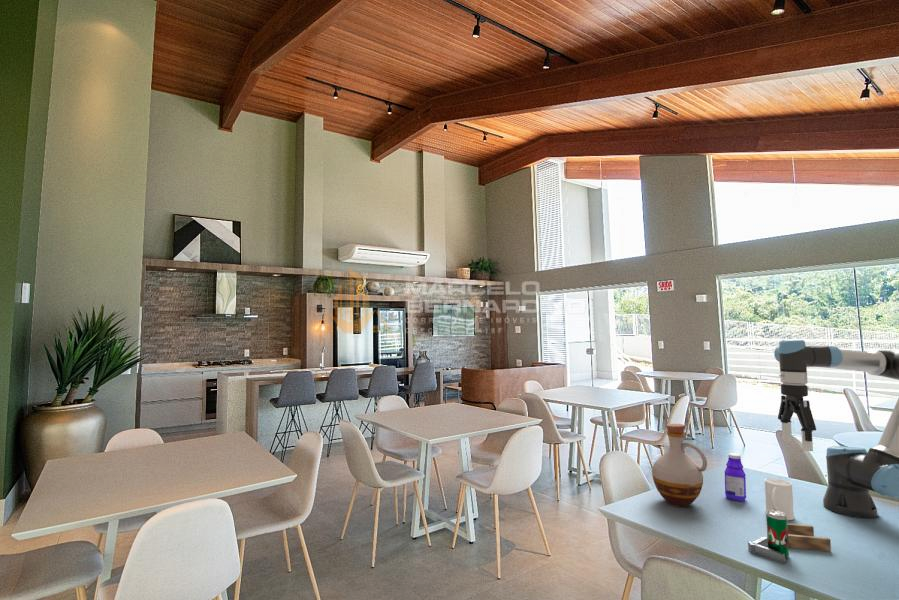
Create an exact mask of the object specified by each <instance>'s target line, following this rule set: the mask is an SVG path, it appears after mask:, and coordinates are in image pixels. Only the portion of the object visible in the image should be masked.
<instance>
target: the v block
mask: <svg viewBox="0 0 899 600" xmlns="http://www.w3.org/2000/svg"><path fill="white" fill-rule="evenodd" d="M747 547H748V549H747V550H748V551H749V552H750V554H753V555H754V554H756V555H759V556H761V557H763V558H767V559H769V560H772V561H774V562H777V563H779V564H782V563H783V564H782V565H784V564H786V558H785V554H784V553H781V552H778V551H775V550H773V549H770V548H768V541H767V536H762V537H760V538H758V539H756V540H753V541H747Z"/></svg>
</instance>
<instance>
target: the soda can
mask: <svg viewBox="0 0 899 600" xmlns="http://www.w3.org/2000/svg"><path fill="white" fill-rule="evenodd" d="M765 514H766V513H765ZM765 516H766V537H767V541H768V547H767V548H770V549H773V550H775V551H778V552H781V553H784V554H785V559H787V558H788V557H789V556H790V550H789V546H788V526H787V523H788V520H787V518H786V516H785V514H784V513H782V512H779V511H773V510H770V511H768V513H767V514H766V515H765Z"/></svg>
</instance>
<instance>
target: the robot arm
mask: <svg viewBox="0 0 899 600" xmlns="http://www.w3.org/2000/svg"><path fill="white" fill-rule="evenodd" d="M773 354H774V358H775V360H776V361H777V362H779V374H778V376H779V377H780V382H781V384H780V394H781V396H780V405H779V409H778V415H777V419H778V420H780V423H781V436H782V437H781V439H782V442H785V443H788V442H791V443H792V442H793V438H792V437H793V435H792V434H793V433H792V420H791V419H792V417H793V415H794V414H796V417H797V419H798V421H799V423H800V427H801V429H800V431H801V447H802V448H801V449H802V452H803V451H804V452H814V447H813V445H814V443H813V442H814V441H813V432H814V431H817V426H816V423H815V420H814V417H813V414H812V410H811V404H810V400H804V397H807V396H808V395H809V389H808V388H809V386H807V384H808V368H813V367H814V368H825V369H827V368H828V369H833V370H836V369H837V370H845V371H855V372H863V373H864V372H865V373H866V374H868V375H870V376H878V377H884V378H889V379H894V380H896V381H897V380H898V381H899V349H891V350H890V349H889V350H877V349H871V350H868V351H863V350H862V351H861V350H849V349H840V348H839V347H837V346H835V345H828V344H827V345H826V344H825V345H817V344H815V345H812V344H810V345H809V344H806V341H805V340H803V339H780V341H779V344H778V346H776V347H775V350H774V352H773ZM825 458H826V459H825V460H826V473H827V483H828V484H827V488H826V491H825V493H824V496H823V499H822V502H823V507H824V508H826V509H827V510H828V511H832V512H835V513H836V514H837V513H838V514H840V515H845V516H850V517H854V518H855V517H856V518H863V519H871V518H872V519H873V518H877V517H878V508H877V506H876V504H875V502H874V499H873V497H872V495H871V493H870V491H871V492H874V493H877V494H878V495H881V496H883V497H887V498H891V499H899V397H898V399H897V401H896V403H895V406H894V407H893V410H892V411H891V414H890V417H889V419H888V421H887V423H886V426H885V427H884V430H883V432H882V435H881V436H880V439H879V441H878V443H877V444H876V446H872V447H870V448H869V450H867V449H866V448H863V447H858V446H857V447H856V446H839V445H833V446H829V447H827V448H826V456H825Z"/></svg>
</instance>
